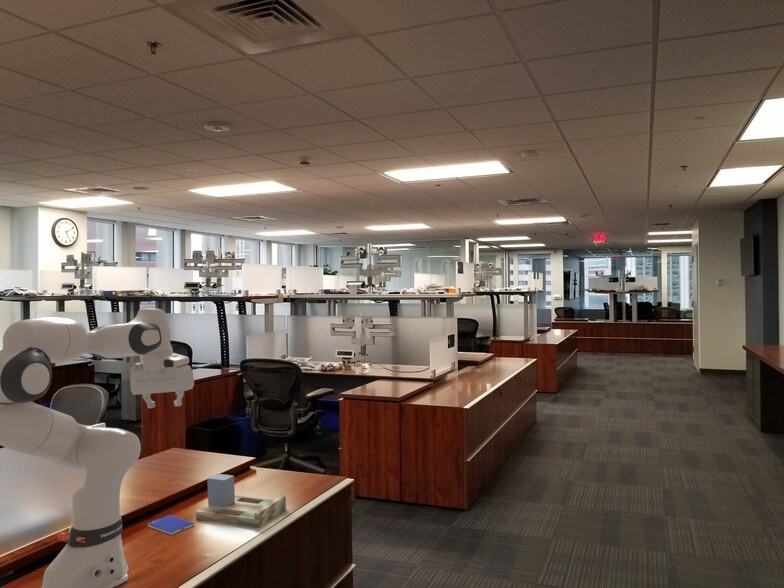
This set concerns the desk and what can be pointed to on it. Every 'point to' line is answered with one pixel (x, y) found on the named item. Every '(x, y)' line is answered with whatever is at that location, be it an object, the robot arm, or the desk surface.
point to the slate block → (221, 490)
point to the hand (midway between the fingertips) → (164, 406)
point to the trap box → (244, 511)
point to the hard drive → (170, 524)
